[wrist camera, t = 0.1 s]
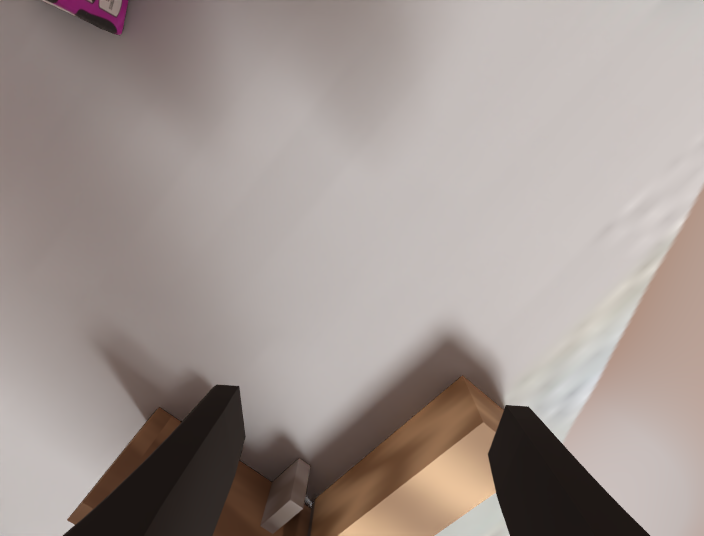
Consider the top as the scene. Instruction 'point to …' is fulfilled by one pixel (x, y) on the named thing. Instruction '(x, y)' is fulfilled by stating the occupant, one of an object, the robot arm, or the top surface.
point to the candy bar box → (96, 12)
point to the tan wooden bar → (417, 472)
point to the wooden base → (243, 498)
